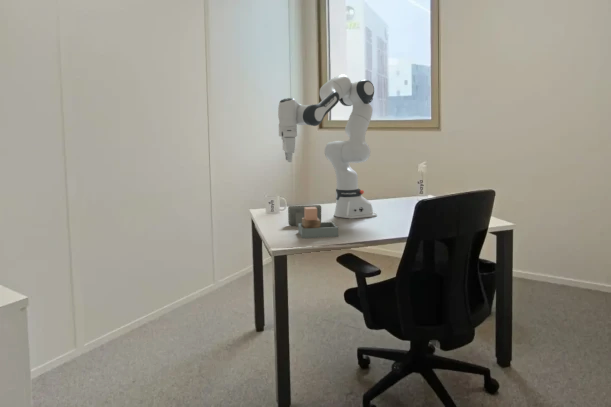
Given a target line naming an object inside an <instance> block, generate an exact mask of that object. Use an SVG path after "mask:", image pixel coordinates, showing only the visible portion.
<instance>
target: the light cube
mask: <svg viewBox="0 0 611 407" xmlns="http://www.w3.org/2000/svg"><path fill="white" fill-rule="evenodd" d="M304 215H305V220H317V208H316V207H304Z"/></svg>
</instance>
